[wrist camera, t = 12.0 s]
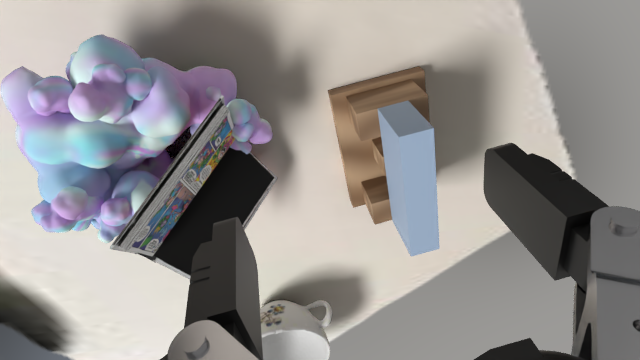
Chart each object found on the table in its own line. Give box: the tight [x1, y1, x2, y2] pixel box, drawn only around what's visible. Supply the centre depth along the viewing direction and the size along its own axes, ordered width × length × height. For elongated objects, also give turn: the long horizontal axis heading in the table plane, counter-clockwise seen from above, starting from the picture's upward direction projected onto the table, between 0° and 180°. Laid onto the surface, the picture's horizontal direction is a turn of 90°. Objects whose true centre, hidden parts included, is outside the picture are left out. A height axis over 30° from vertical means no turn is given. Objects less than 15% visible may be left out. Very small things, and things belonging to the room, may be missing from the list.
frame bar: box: [378, 101, 439, 256], centre depth 40 cm, size 14×3×6 cm, turn 12°
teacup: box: [260, 300, 332, 360], centre depth 57 cm, size 15×12×8 cm
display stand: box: [328, 66, 429, 224], centre depth 45 cm, size 15×10×6 cm, turn 12°
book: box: [1, 34, 277, 279], centre depth 36 cm, size 20×22×18 cm
